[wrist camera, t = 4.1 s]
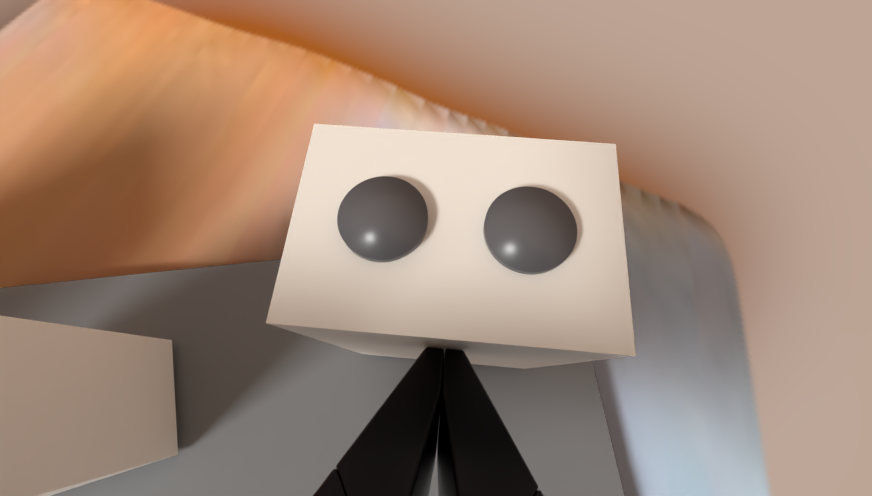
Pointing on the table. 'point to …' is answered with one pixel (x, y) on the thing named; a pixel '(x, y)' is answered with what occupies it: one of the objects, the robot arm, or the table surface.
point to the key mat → (298, 389)
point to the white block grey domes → (457, 248)
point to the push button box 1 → (80, 405)
